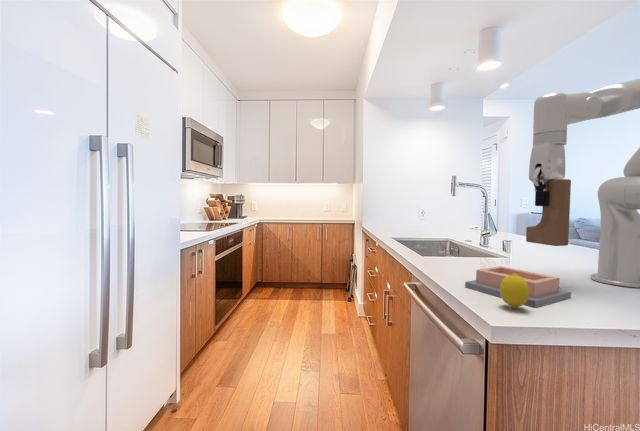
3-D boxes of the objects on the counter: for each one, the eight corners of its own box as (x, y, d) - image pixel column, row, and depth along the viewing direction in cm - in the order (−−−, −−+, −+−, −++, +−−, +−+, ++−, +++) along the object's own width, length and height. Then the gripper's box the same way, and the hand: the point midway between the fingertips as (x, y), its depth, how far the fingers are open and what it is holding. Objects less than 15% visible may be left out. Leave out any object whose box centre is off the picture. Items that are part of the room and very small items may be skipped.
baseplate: (500, 280, 92) (500, 264, 92) (570, 297, 76) (571, 278, 76) (465, 287, 85) (465, 269, 84) (535, 307, 69) (536, 286, 68)
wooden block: (525, 241, 89) (527, 181, 88) (536, 241, 91) (538, 181, 90) (557, 246, 81) (559, 179, 80) (569, 245, 82) (571, 179, 81)
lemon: (494, 303, 71) (496, 270, 71) (519, 304, 71) (521, 271, 70) (506, 312, 66) (508, 276, 65) (533, 313, 65) (535, 277, 65)
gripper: (550, 145, 91) (548, 205, 92) (517, 140, 84) (515, 206, 85) (580, 140, 85) (578, 205, 86) (548, 135, 77) (545, 206, 78)
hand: (547, 205), depth 85 cm, fingers closed on wooden block, 4 cm apart
